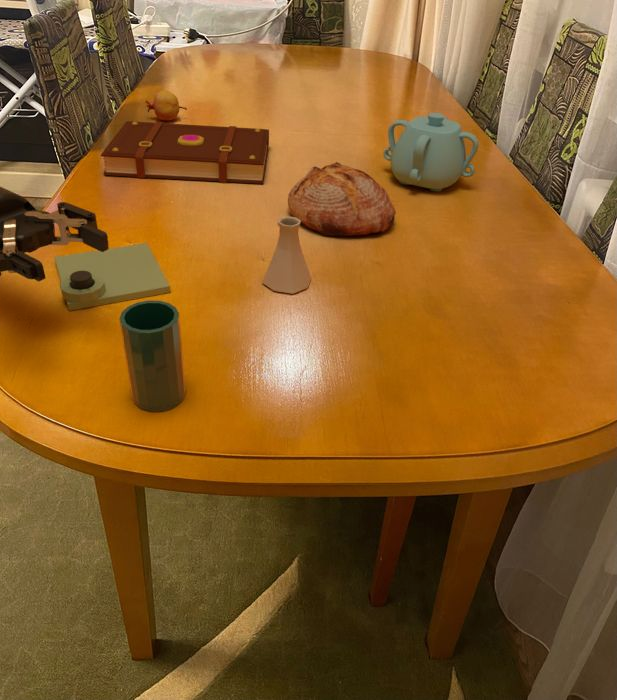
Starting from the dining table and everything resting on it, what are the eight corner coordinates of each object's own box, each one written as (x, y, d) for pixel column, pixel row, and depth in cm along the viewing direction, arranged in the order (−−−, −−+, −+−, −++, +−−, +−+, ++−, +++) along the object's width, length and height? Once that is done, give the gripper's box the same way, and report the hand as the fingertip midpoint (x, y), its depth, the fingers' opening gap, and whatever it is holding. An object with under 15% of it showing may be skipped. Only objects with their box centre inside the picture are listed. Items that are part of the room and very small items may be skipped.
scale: (66, 313, 82) (63, 297, 80) (53, 263, 92) (49, 248, 90) (171, 293, 87) (170, 278, 86) (147, 248, 97) (146, 234, 96)
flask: (279, 265, 95) (281, 206, 89) (319, 279, 93) (324, 218, 87) (253, 284, 90) (253, 223, 84) (294, 300, 88) (298, 237, 82)
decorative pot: (376, 167, 132) (384, 102, 124) (444, 165, 136) (456, 101, 127) (401, 197, 120) (412, 128, 112) (476, 194, 123) (491, 126, 115)
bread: (292, 200, 118) (295, 148, 112) (394, 211, 116) (401, 158, 111) (279, 233, 104) (281, 175, 99) (393, 245, 103) (401, 187, 97)
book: (263, 185, 121) (263, 160, 118) (103, 176, 119) (99, 151, 116) (268, 146, 139) (269, 124, 136) (130, 138, 137) (127, 116, 134)
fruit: (186, 91, 150) (144, 89, 149) (186, 91, 144) (142, 89, 142) (187, 120, 153) (146, 119, 151) (187, 122, 147) (144, 120, 145)
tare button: (73, 292, 82) (71, 282, 81) (70, 282, 84) (68, 272, 83) (94, 288, 83) (93, 278, 82) (91, 278, 85) (89, 269, 84)
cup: (139, 417, 67) (126, 337, 60) (127, 384, 71) (114, 306, 64) (191, 404, 69) (185, 325, 62) (177, 372, 73) (170, 295, 67)
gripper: (43, 223, 80) (128, 263, 74) (-62, 263, 71) (25, 313, 64) (31, 168, 76) (120, 205, 69) (-83, 203, 66) (8, 250, 59)
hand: (74, 257), depth 66 cm, fingers open, 8 cm apart
